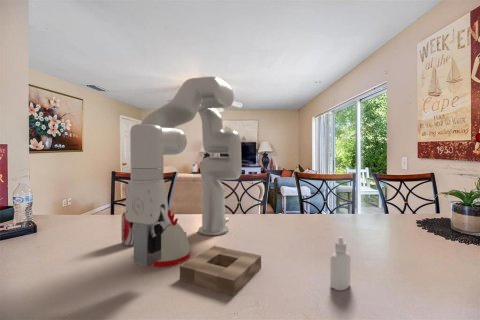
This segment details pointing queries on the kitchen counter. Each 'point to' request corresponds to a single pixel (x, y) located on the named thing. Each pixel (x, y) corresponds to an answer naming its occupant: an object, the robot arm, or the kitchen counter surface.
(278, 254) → the kitchen counter surface
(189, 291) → the kitchen counter surface
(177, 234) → the kitchen timer
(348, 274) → the eye dropper bottle
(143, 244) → the square peg
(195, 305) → the kitchen counter surface
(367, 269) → the kitchen counter surface
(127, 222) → the soda can
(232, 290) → the socket block
